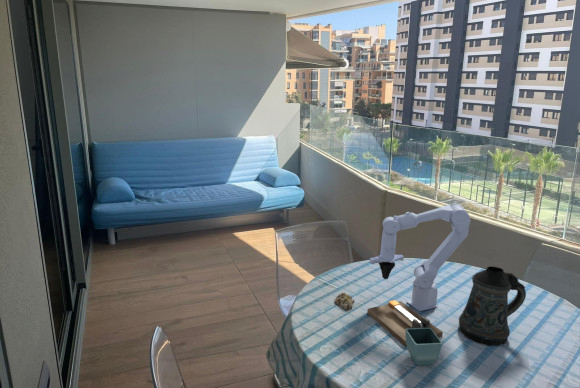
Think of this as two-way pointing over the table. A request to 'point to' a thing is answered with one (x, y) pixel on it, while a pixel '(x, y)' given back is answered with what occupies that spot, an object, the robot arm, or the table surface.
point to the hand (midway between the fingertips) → (385, 278)
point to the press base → (399, 321)
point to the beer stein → (490, 306)
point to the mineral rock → (344, 301)
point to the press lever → (403, 312)
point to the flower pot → (423, 345)
